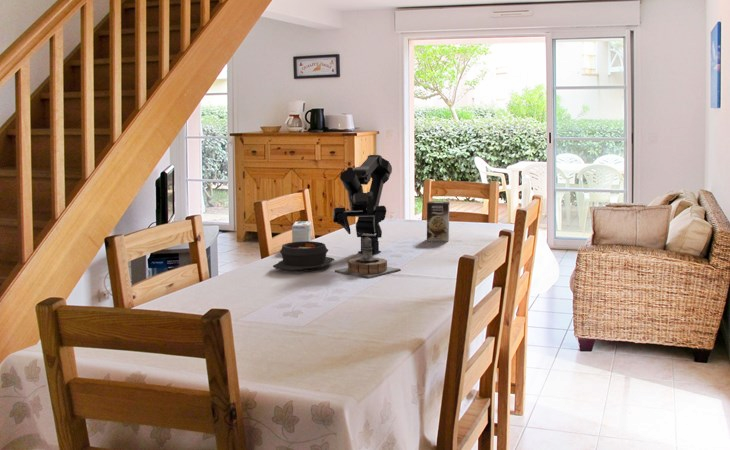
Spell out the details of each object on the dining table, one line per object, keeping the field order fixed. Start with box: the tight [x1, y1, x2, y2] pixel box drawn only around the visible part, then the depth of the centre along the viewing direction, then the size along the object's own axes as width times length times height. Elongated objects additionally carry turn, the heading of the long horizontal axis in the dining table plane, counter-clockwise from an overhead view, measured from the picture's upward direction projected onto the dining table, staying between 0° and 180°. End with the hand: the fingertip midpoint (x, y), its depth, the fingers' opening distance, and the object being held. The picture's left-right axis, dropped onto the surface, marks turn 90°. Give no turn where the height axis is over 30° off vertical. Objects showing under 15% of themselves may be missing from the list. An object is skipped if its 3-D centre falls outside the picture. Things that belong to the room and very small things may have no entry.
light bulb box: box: [291, 220, 312, 242], centre depth 321 cm, size 11×7×11 cm, turn 178°
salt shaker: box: [359, 235, 377, 263], centre depth 278 cm, size 6×6×12 cm
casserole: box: [272, 241, 335, 272], centre depth 286 cm, size 25×19×8 cm
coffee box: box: [426, 201, 451, 243], centre depth 339 cm, size 9×6×16 cm
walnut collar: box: [334, 256, 402, 279], centre depth 279 cm, size 16×16×4 cm
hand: (362, 233), depth 285 cm, fingers open, 9 cm apart
